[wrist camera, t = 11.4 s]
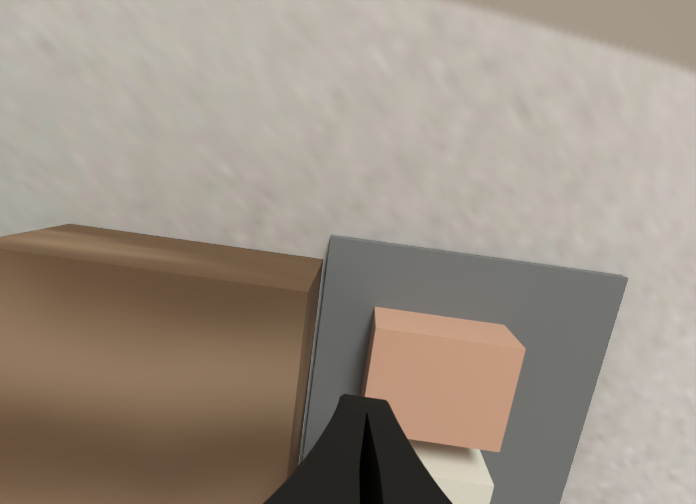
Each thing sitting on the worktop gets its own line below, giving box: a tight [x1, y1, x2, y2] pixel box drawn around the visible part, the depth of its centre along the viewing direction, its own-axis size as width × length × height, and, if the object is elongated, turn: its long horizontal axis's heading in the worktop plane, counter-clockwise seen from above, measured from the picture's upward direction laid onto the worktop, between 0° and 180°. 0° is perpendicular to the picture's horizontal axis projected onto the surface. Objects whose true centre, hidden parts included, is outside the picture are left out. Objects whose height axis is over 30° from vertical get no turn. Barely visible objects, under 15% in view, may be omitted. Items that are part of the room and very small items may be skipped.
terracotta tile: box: [361, 307, 526, 452], centre depth 14 cm, size 4×5×2 cm
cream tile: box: [408, 439, 494, 504], centre depth 15 cm, size 4×5×2 cm
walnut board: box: [0, 224, 323, 504], centre depth 14 cm, size 13×10×4 cm
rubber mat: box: [303, 235, 628, 504], centre depth 16 cm, size 15×11×1 cm
